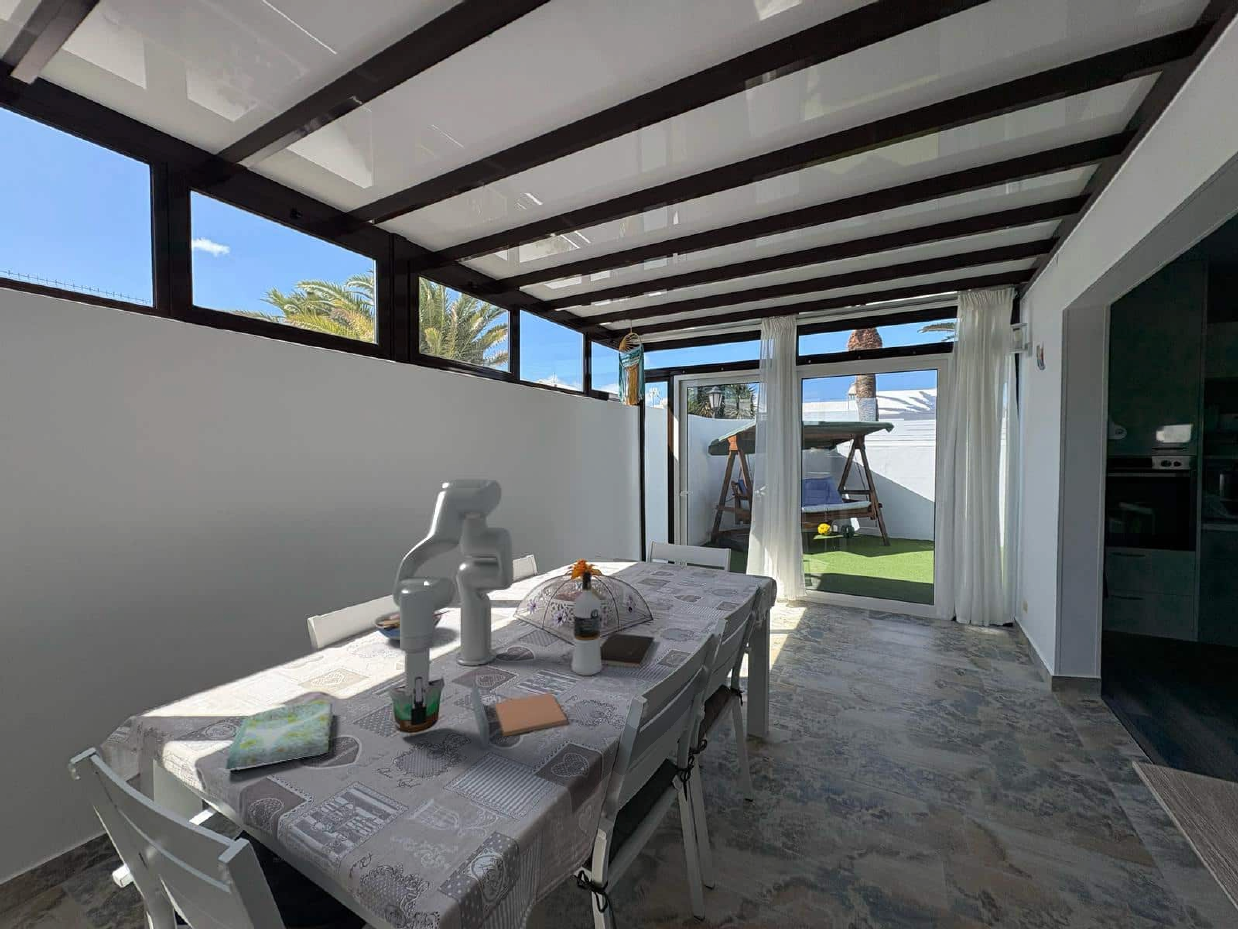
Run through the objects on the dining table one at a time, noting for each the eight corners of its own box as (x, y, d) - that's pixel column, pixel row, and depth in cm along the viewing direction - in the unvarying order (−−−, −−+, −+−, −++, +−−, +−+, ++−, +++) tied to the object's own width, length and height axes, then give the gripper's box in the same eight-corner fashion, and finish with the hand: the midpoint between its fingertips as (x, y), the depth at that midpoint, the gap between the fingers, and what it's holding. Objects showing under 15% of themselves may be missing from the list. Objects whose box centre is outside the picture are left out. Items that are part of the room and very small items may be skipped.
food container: (390, 741, 112) (389, 696, 112) (388, 728, 117) (388, 685, 117) (448, 728, 117) (448, 685, 117) (444, 715, 123) (444, 674, 123)
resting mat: (494, 706, 131) (494, 703, 131) (550, 696, 137) (550, 692, 137) (504, 736, 117) (504, 732, 117) (566, 723, 123) (566, 719, 123)
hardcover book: (654, 643, 178) (654, 637, 178) (640, 670, 155) (640, 662, 155) (610, 639, 182) (610, 633, 182) (590, 664, 159) (590, 657, 159)
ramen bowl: (421, 622, 198) (421, 601, 198) (458, 634, 185) (458, 612, 185) (357, 641, 178) (357, 618, 178) (393, 656, 164) (393, 631, 164)
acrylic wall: (472, 704, 133) (472, 685, 133) (477, 703, 133) (477, 684, 133) (483, 749, 112) (483, 726, 112) (489, 748, 113) (489, 725, 113)
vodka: (592, 661, 161) (592, 567, 160) (607, 671, 153) (607, 572, 152) (566, 668, 155) (566, 570, 155) (580, 679, 148) (580, 576, 147)
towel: (333, 713, 129) (333, 693, 129) (328, 758, 110) (328, 734, 110) (246, 730, 121) (246, 709, 121) (223, 782, 102) (223, 756, 101)
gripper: (400, 629, 124) (401, 703, 124) (399, 656, 108) (400, 740, 109) (433, 625, 127) (434, 697, 127) (436, 651, 111) (437, 732, 111)
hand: (418, 716), depth 118 cm, fingers closed on food container, 5 cm apart
